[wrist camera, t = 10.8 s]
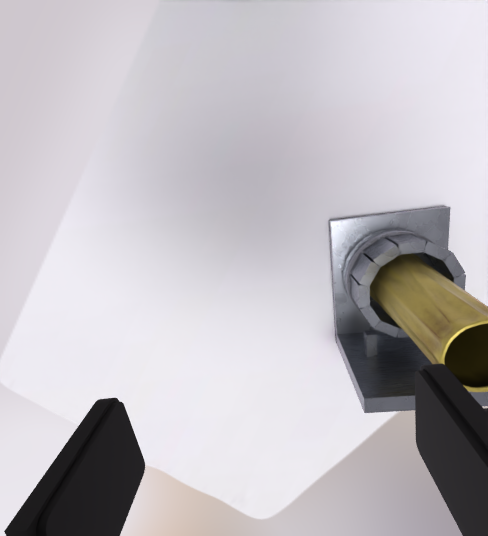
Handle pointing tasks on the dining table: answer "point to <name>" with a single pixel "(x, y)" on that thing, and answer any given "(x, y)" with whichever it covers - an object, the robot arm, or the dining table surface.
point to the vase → (436, 317)
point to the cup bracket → (369, 311)
